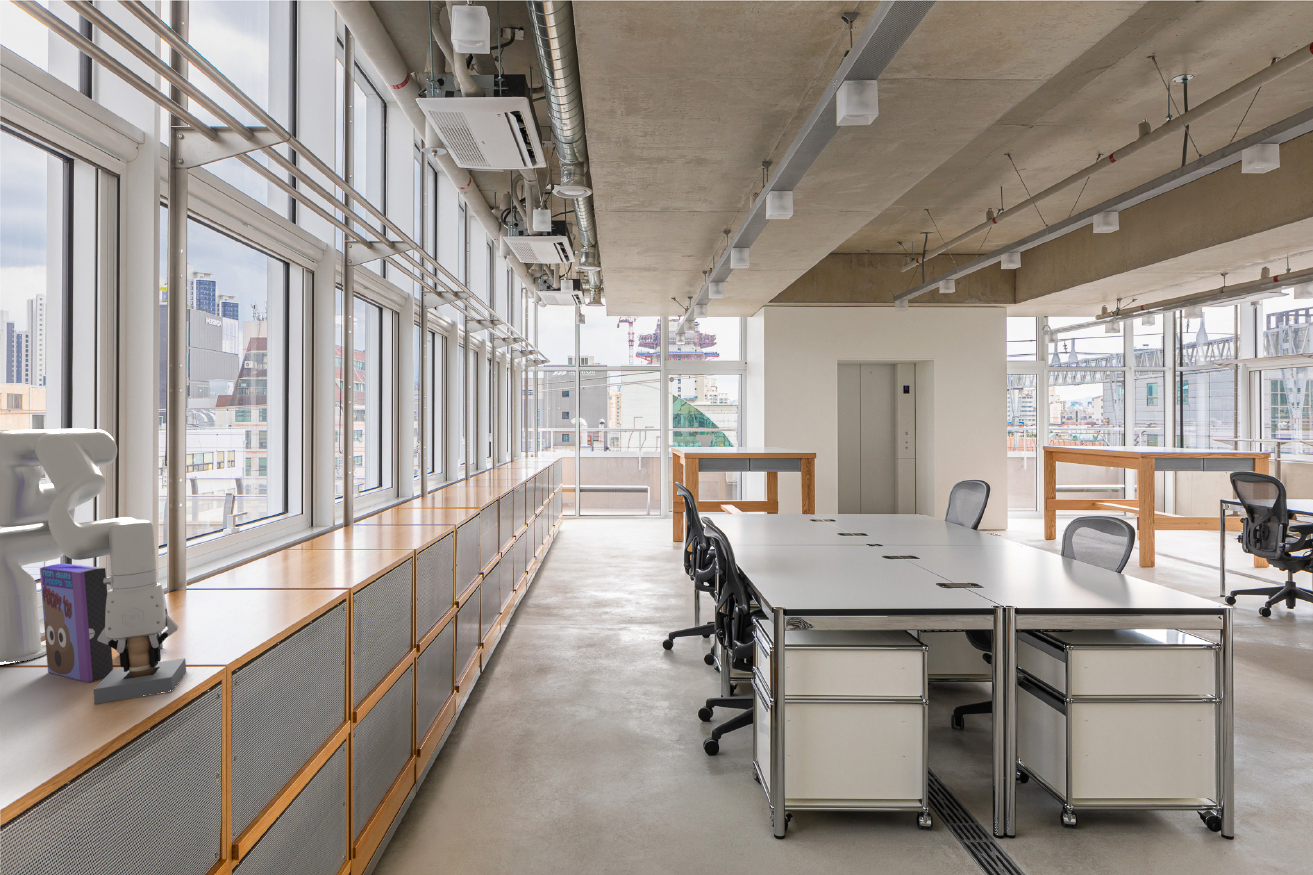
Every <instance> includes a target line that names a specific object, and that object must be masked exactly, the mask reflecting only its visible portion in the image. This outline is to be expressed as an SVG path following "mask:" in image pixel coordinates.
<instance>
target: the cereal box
mask: <svg viewBox="0 0 1313 875" xmlns="http://www.w3.org/2000/svg"><path fill="white" fill-rule="evenodd" d="M39 576H40V589H41V590H40V591H41V600H42V601H41V602H42V612H43V613H42V614H43V624H44V628H43V629H44V637H45V638H44V639H45V645H46V653H47V654H46V663H47V672H48V674H50V675H54V676H59V677H61V678H62V677H63V678H65V679H71V680H74V681H78V682H82V683H86V684H91V683H94V682H97V681H102V680H103V679H104V678H105V677H106V676H107V675H108V674H109V673H110V672H111V671H112V670H113V669H114V665H113V662H114V661H113V651H112V650H113V648H112V647H110V646H109V645H108V644H104V643H102V642H99V641H98V640H97V639H98V637H99V635H100V634H101V632H102V631H103V629H104V628H105V612H106V599H107V593H108V586H107V585H108V584H104V583H103V580H104V578H107V572H106V567H99V566H89V565H83V564H82V565H81V564H71V563H56V564H49V565H46V566H42V567H39Z"/></svg>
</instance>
